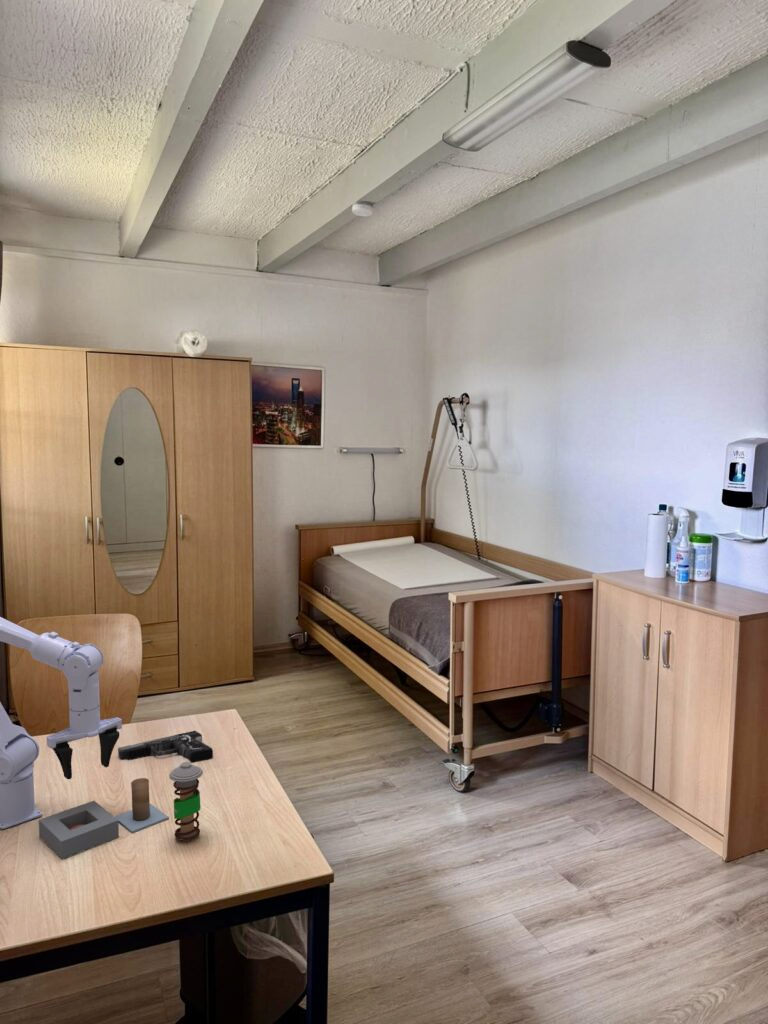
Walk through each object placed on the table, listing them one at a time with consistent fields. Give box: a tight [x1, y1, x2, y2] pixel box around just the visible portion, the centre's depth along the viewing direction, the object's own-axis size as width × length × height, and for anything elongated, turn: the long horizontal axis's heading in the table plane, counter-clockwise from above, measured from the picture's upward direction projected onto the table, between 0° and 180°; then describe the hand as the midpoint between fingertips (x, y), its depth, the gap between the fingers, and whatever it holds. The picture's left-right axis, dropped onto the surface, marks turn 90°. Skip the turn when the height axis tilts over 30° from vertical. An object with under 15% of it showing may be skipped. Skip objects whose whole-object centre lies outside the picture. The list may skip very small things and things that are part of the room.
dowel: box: [130, 777, 151, 821], centre depth 151 cm, size 3×3×8 cm
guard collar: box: [38, 800, 120, 860], centre depth 144 cm, size 11×11×4 cm
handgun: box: [117, 730, 214, 764], centre depth 181 cm, size 20×3×14 cm
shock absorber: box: [168, 761, 204, 842], centre depth 143 cm, size 6×6×15 cm
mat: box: [113, 803, 170, 834], centre depth 151 cm, size 8×8×1 cm
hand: (86, 771), depth 149 cm, fingers open, 7 cm apart
